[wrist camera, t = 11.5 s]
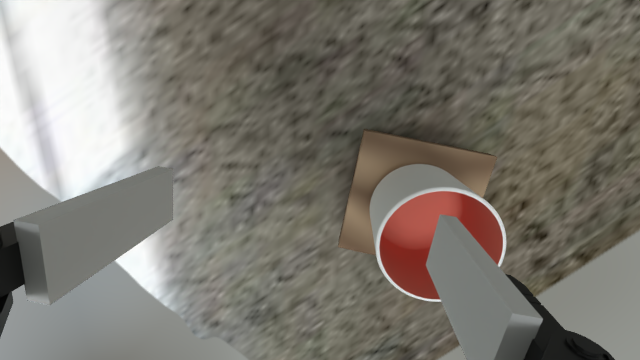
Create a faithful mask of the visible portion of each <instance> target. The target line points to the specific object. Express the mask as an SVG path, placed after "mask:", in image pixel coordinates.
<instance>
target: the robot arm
mask: <svg viewBox="0 0 640 360" xmlns="http://www.w3.org/2000/svg"><path fill="white" fill-rule="evenodd" d="M172 220H173V169H171V168H165V167H159V166H158V167H155V168H153V169H150V170H147V171H145V172H142V173H139V174H136V175H134V176H131V177H128V178H126V179H123V180H120V181H118V182H115V183H112V184H109V185H107V186H104V187H101V188H99V189H96V190H93V191H91V192H88V193H85V194H82V195H80V196H77V197H74V198H72V199H69V200H66V201H64V202H61V203H58V204H56V205H53V206H50V207H47V208H45V209H42V210H39V211H37V212H34V213H31V214H29V215H26V216H23V217H21V218H18V219H15V220H14V222H11V223H9V224H6V225H4V226H1V227H0V336H1V334H2V331H3V328H4V326H5V323H6V320H7V317H8V315H9V312H10V309H11V307H12V304H13V297H12V291H13V290H15V289H17V288H18V287H20V286H22V285H23V284H24V285H25V291H26V297H27V301H31V302H37V303H41V304H46V305H51V304H52V303H54V302H55V301H57V300H58V299H60V298H61V297H63V296H64V295H65V294H67V293H68V292H70V291H71V290H73V289H74V288H75V287H77V286H78V285H80V284H81V283H83V282H84V281H85V280H87V279H88V278H90V277H91V276H93V275H94V274H96V273H97V272H98V271H100V270H101V269H103V268H104V267H105V266H107V265H108V264H110V263H111V262H112V261H114V260H116V259H117V258H119V257H120V256H121V255H123V254H124V253H126V252H127V251H129V250H130V249H131V248H133V247H134V246H136V245H137V244H139V243H140V242H141V241H143V240H144V239H146V238H147V237H149V236H150V235H151V234H153V233H154V232H156V231H157V230H159V229H160V228H162V227H163V226H164V225H166V224H167V223H169V222H170V221H172ZM426 267H427V269H428V272H429V274H430V276H431V279H432V281H433V283H434V285H435V288H436V290H437V292H438V295H439V297H440V299H441V302H442V304H443V306H444V309H445V311H446V313H447V316H448V318H449V320H450V323H451V325H452V327H453V330H454V332H455V334H456V336H457V339H458V341H459V343H460V346H461V348H462V350H463V353H464V355H465V357H466V359H467V360H615V359H614V358H613V357H612V356H611V355H610V354H609V353H608V352H607V351H606V350H604V349H603V348H602V347H601V346H599V345H598V344H596V343H595V342H593V341H591V340H590V339H588V338H586V337H584V336H581V335H579V334H577V333H574V332H571V331H567V330H565V329H564V328H563V327H562V326H561V325H560V324H559V323H558V322H557V321H556V320H555V318H554V317H553V316H552V315H551V314H550V313H549V312H548V311H547V310H546V308H545V307H544V306H542V305H541V303H540V302H539V301H538V300H537V298H536V297H533V294H532V293H531V292H530V291H529V290H528V289H527V287H526V286H525V285H524V284H522V283H521V282H519V281H518V280H517V279H515V278H514V277H512V276H511V275H507V274H504V272H503V271H502V270H501V269H500V268H499V266H498V265H497V264H496V263H495V262H494V261H493V259H492V258H491V257H490V256H489V255H488V254H487V252H486V251H485V250H484V249H483V248H482V247H481V245H480V244H479V243H478V242H477V241H476V239H475V238H474V237H473V236H472V235H471V234H470V232H469V231H468V230H467V229H466V228H465V227H464V225H463V224H462V223H461V222H460V221H459V219H458V218H457V217H453V216H447V215H442V214H440V216H439V219H438V223H437V226H436V230H435V234H434V237H433V241H432V244H431V248H430V251H429V255H428V259H427V262H426Z"/></svg>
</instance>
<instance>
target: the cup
mask: <svg viewBox="0 0 640 360" xmlns="http://www.w3.org/2000/svg"><path fill="white" fill-rule="evenodd" d="M440 214H442V215H447V216H453V217H457V218H458V219H459V221H460V222H461V223H462V224H463V225H464V227H465V228H466V229H467V230H468V231H469V232H470V234H471V235H472V236H473V237H474V238H475V239H476V241H477V242H478V243H479V244H480V245H481V247H482V248H483V249H484V250H485V251H486V252H487V254H488V255H489V256H490V257H491V258H492V259H493V261H494V262H495V263H496V264H497V265H498V266H499V267H500V265H501V263H502V261H503V258H504V255H505V250H506V233H505V229H504V225H503V223H502V220H501V218H500V216H499V215H498V213H497V212H496V211H495V209H494V208H493V207H492V206H491V205H490V204H489V203H488V202H487V201H486V200H484V199H483V198H482V197H480V196H479V195H478V194H476V193H475V192H474V191H472V190H471V189H469V188H468V187H467V186H465V185H464V184H463V183H461V182H460V181H459V180H457V179H456V178H455V177H453V176H452V175H451V174H449V173H448V172H446V171H445V170H443V169H441V168H438V167H436V166H432V165H427V164H412V165H407V166H403V167H400V168H398V169H396V170H394V171H392V172H391V173H389V174H388V175H387V176H385V177H384V178H383V179H382V180H381V181H380V183H379V184H378V185H377V187H376V188H375V190H374V192H373V195H372V197H371V201H370V219H371V226H372V232H373V238H374V244H375V251H376V257H377V261H378V264H379V266H380V268H381V270H382V272H383V274H384V275H385V277H386V278H387V279H388V280H389V281H390V283H391V284H393V285H394V286H395V287H396V288H397V289H399V290H400V291H402V292H403V293H405V294H407V295H409V296H411V297H414V298H417V299H421V300H426V301H436V302H440V301H441V299H440V297H439V295H438V292H437V290H436V288H435V285H434V283H433V281H432V279H431V276H430V274H429V272H428V269H427V267H426V262H427V259H428V255H429V251H430V248H431V244H432V241H433V237H434V234H435V230H436V226H437V223H438V219H439V216H440Z"/></svg>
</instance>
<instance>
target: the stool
mask: <svg viewBox="0 0 640 360" xmlns="http://www.w3.org/2000/svg"><path fill="white" fill-rule="evenodd" d="M496 160H497V157H496V156H494V155H491V154H488V153H483V152H478V151H473V150H468V149H463V148H458V147H453V146H448V145H443V144H438V143H433V142H428V141H423V140H418V139H413V138H408V137H403V136H398V135H393V134H388V133H383V132H378V131H373V130H368V129H364V131H363V136H362V140H361V144H360V149H359V153H358V158H357V162H356V166H355V171H354V175H353V180H352V184H351V189H350V193H349V197H348V202H347V206H346V211H345V215H344V219H343V224H342V228H341V233H340V237H339V244H338V247H340V248H345V249H349V250H354V251H358V252H363V253H367V254H372V255H376V251H375V244H374V238H373V232H372V226H371V219H370V201H371V197H372V195H373V192H374V190H375V188H376V187H377V185H378V184H379V183H380V181H381V180H382V179H383V178H384V177H385V176H387V175H388V174H389V173H391V172H392V171H394V170H396V169H398V168H400V167H403V166H407V165H412V164H427V165H432V166H436V167H438V168H441V169H443V170H445V171H446V172H448V173H449V174H451V175H452V176H453V177H455V178H456V179H457V180H459V181H460V182H461V183H463V184H464V185H465V186H467V187H468V188H469V189H471V190H472V191H474V192H475V193H476V194H478V195H479V196H480V197H482V198H483V196H484V193H485V190H486V188H487V185H488V182H489V179H490V176H491V174H492V171H493V168H494V165H495V162H496Z"/></svg>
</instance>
